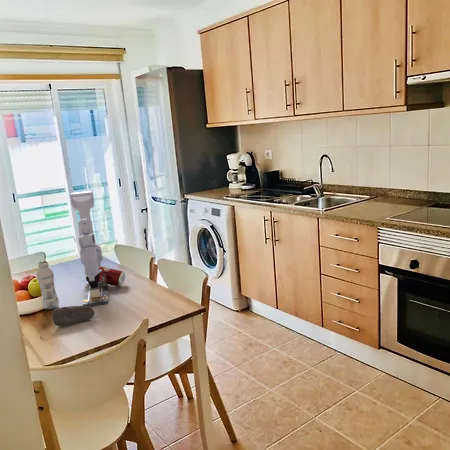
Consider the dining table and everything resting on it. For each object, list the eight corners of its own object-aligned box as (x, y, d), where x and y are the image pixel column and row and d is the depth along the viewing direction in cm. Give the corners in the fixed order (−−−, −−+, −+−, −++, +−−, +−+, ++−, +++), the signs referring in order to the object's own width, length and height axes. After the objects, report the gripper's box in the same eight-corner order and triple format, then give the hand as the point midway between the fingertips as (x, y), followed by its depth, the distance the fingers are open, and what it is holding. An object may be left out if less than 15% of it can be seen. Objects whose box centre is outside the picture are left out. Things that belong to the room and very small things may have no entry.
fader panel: (85, 289, 202) (85, 284, 202) (108, 285, 204) (107, 280, 204) (82, 308, 180) (82, 302, 180) (108, 303, 183) (107, 298, 182)
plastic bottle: (54, 311, 179) (45, 264, 175) (39, 311, 181) (30, 264, 176) (62, 304, 186) (54, 259, 181) (48, 304, 187) (40, 259, 182)
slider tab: (90, 295, 188) (89, 287, 187) (100, 294, 189) (99, 286, 188) (90, 298, 185) (89, 290, 185) (100, 296, 186) (98, 288, 185)
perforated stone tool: (95, 316, 171) (93, 300, 169) (95, 322, 166) (93, 305, 164) (55, 324, 167) (52, 307, 166) (53, 329, 162) (50, 312, 161)
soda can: (126, 274, 205) (102, 269, 206) (123, 269, 199) (98, 263, 200) (121, 289, 202) (96, 283, 203) (118, 284, 196) (92, 278, 197)
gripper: (99, 264, 181) (104, 295, 184) (100, 255, 194) (104, 284, 197) (81, 267, 179) (87, 298, 182) (83, 257, 193) (88, 287, 196)
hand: (95, 291), depth 190 cm, fingers closed
